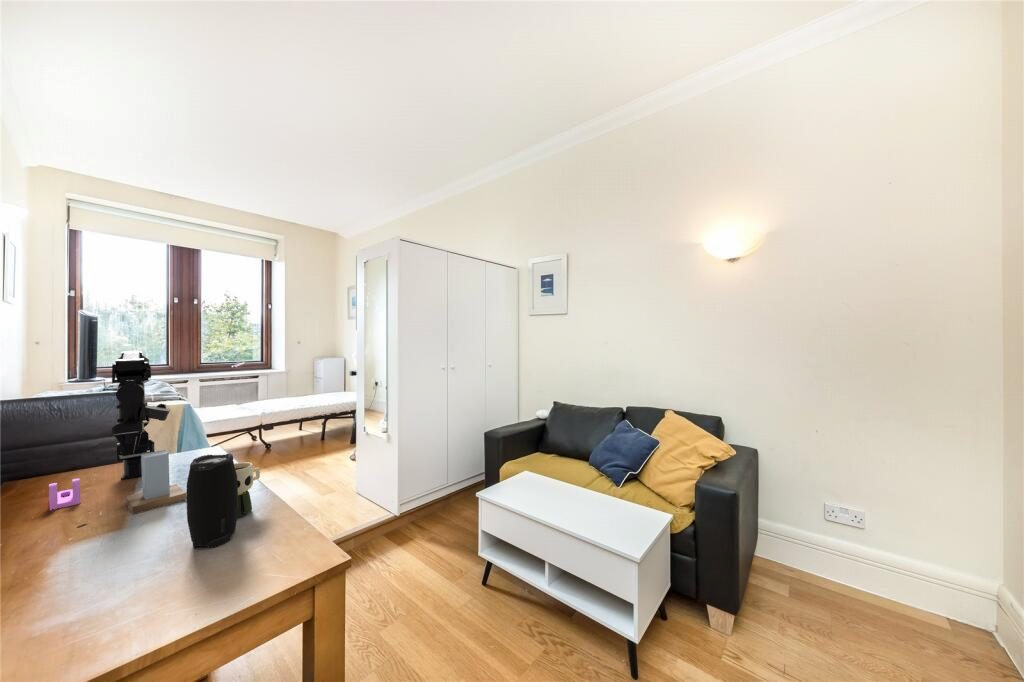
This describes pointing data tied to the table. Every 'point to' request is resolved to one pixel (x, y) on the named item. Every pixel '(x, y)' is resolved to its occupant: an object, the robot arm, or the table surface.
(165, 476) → the block
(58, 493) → the bracket
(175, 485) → the plinth
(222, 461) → the portable speaker
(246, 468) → the character mug
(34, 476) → the table surface
